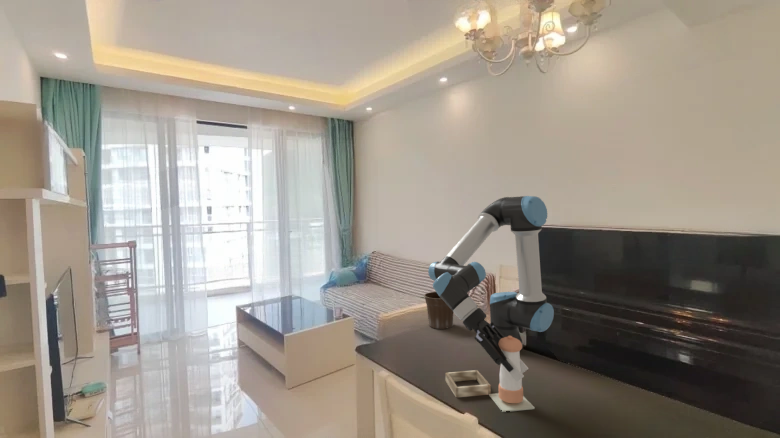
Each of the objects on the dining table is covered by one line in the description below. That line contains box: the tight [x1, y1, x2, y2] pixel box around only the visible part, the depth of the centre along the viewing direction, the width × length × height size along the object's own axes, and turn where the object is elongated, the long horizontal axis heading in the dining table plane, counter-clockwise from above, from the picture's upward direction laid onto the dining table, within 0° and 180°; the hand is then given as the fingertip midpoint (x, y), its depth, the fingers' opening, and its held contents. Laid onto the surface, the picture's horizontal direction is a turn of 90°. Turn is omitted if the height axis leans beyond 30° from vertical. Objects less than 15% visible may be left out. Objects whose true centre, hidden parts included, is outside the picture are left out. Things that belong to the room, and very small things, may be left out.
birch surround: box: [445, 369, 492, 399], centre depth 126 cm, size 12×12×3 cm
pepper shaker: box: [498, 336, 524, 403], centre depth 115 cm, size 7×7×19 cm
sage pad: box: [488, 392, 535, 413], centre depth 116 cm, size 10×10×1 cm
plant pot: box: [423, 291, 454, 330], centre depth 193 cm, size 16×16×16 cm
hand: (522, 374), depth 114 cm, fingers closed on pepper shaker, 5 cm apart
